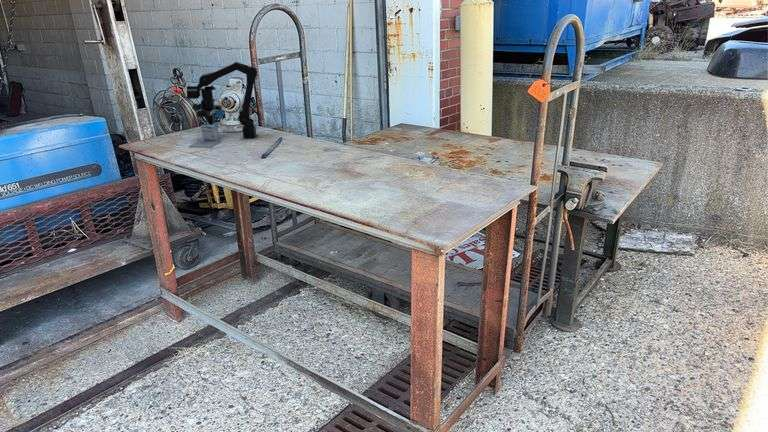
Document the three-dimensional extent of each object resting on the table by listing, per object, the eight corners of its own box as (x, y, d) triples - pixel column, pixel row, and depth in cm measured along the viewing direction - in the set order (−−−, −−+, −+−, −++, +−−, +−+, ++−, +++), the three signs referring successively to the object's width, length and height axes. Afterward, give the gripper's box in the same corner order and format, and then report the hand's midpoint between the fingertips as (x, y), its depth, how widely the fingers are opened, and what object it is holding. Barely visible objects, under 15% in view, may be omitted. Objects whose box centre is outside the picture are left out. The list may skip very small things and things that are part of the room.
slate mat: (220, 141, 303) (220, 141, 302) (211, 147, 292) (210, 147, 292) (199, 141, 305) (198, 140, 305) (188, 147, 294) (188, 146, 294)
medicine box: (203, 141, 305) (200, 126, 301) (207, 138, 309) (204, 123, 304) (216, 141, 303) (212, 127, 299) (220, 138, 307) (216, 124, 303)
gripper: (202, 94, 309) (205, 121, 315) (185, 101, 292) (189, 129, 298) (220, 95, 307) (224, 122, 313) (204, 101, 290) (208, 130, 296)
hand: (211, 126), depth 305 cm, fingers closed
